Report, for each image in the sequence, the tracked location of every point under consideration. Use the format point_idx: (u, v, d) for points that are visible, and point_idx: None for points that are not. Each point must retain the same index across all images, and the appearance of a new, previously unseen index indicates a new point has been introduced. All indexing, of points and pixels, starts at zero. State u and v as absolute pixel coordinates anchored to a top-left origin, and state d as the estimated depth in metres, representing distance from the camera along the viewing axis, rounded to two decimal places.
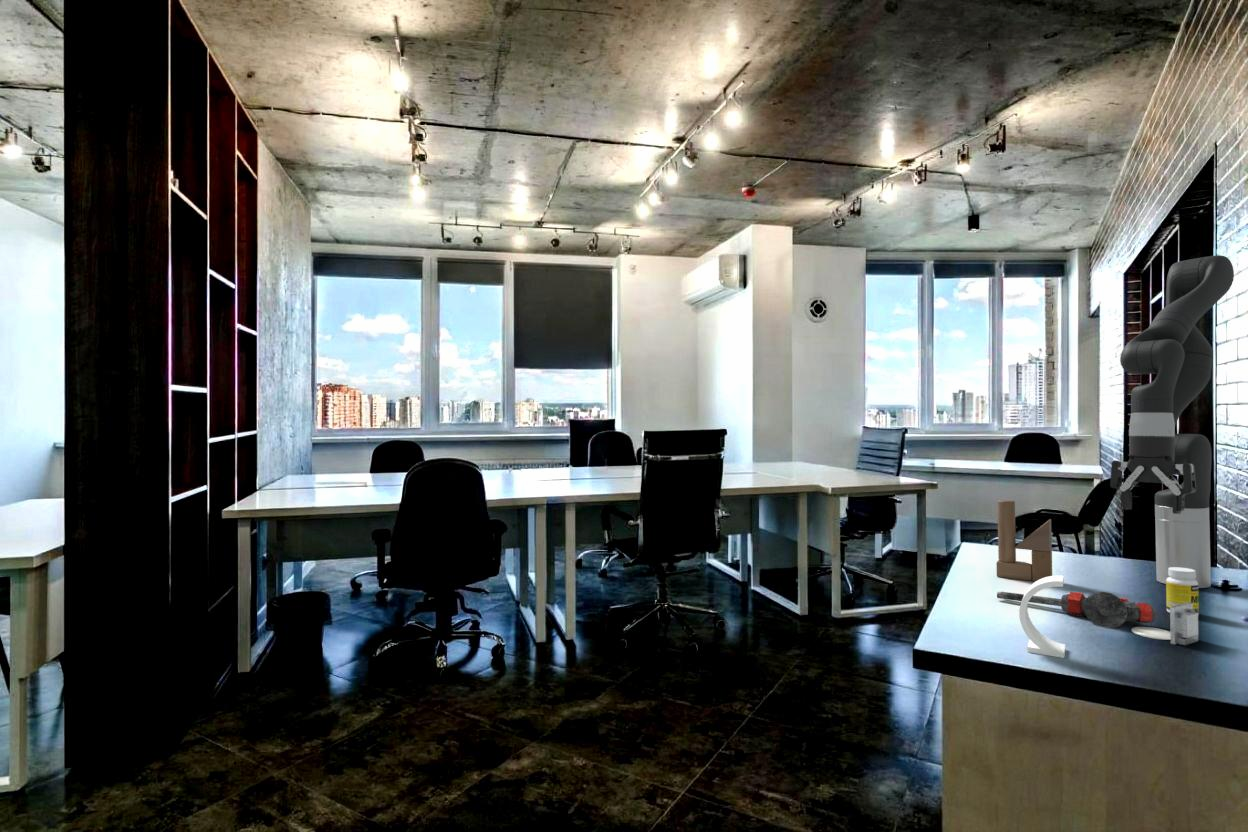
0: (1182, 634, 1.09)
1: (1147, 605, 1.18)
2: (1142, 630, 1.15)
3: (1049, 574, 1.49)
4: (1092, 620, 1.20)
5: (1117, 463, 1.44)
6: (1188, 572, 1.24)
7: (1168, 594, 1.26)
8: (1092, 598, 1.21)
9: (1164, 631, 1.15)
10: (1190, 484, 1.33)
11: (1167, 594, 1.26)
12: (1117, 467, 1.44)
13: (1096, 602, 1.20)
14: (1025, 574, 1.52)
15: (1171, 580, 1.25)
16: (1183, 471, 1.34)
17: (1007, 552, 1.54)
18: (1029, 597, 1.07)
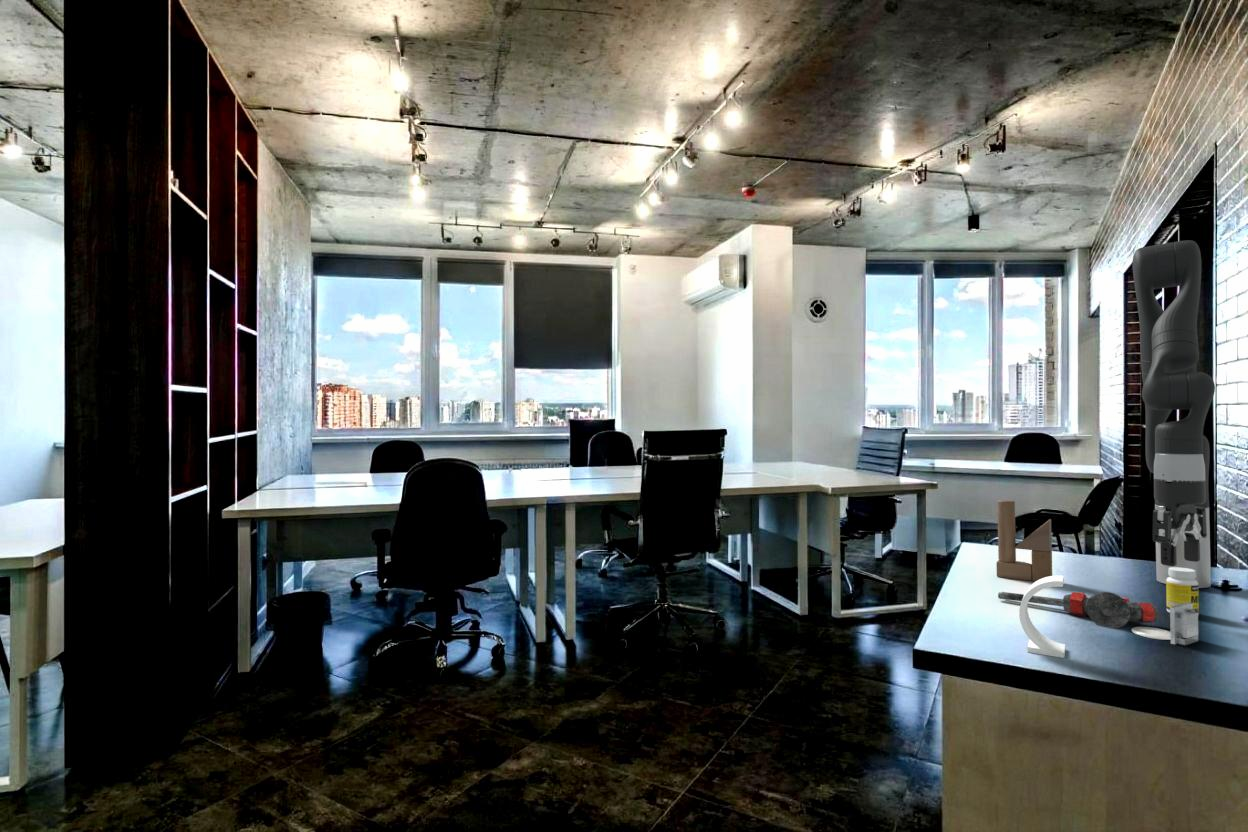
0: (1182, 634, 1.09)
1: (1149, 605, 1.18)
2: (1142, 630, 1.15)
3: (1049, 574, 1.49)
4: (1095, 620, 1.20)
5: None
6: (1188, 572, 1.24)
7: (1168, 594, 1.26)
8: (1095, 598, 1.21)
9: (1164, 631, 1.15)
10: (1205, 528, 1.28)
11: (1167, 594, 1.26)
12: (1171, 518, 1.22)
13: (1098, 603, 1.20)
14: (1025, 574, 1.52)
15: (1171, 580, 1.25)
16: (1202, 515, 1.27)
17: (1007, 552, 1.54)
18: (1029, 597, 1.07)
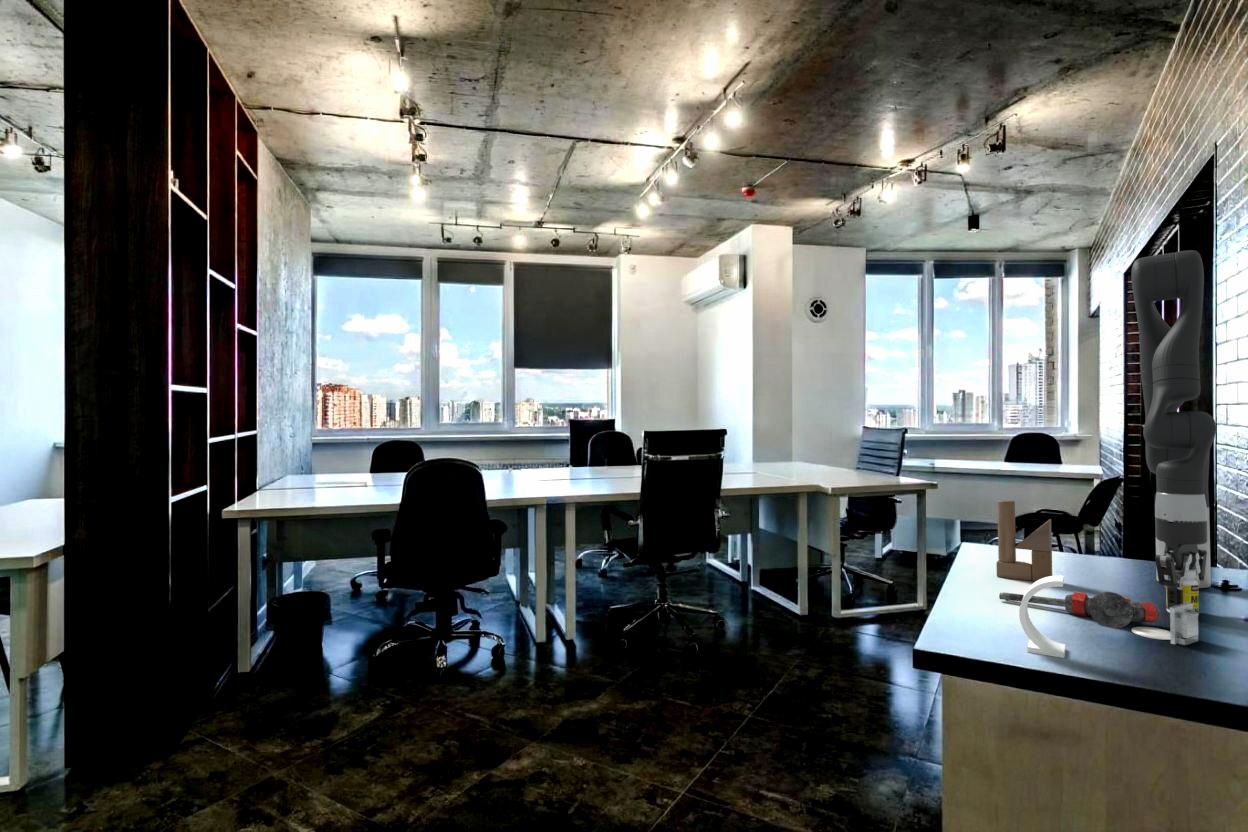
0: (1182, 634, 1.09)
1: (1151, 605, 1.18)
2: (1142, 630, 1.15)
3: (1049, 574, 1.49)
4: (1097, 620, 1.20)
5: None
6: (1188, 572, 1.24)
7: None
8: (1097, 598, 1.21)
9: (1164, 631, 1.15)
10: (1204, 572, 1.27)
11: None
12: (1174, 563, 1.22)
13: (1101, 603, 1.20)
14: (1025, 574, 1.52)
15: None
16: (1203, 558, 1.27)
17: (1007, 552, 1.54)
18: (1029, 597, 1.07)
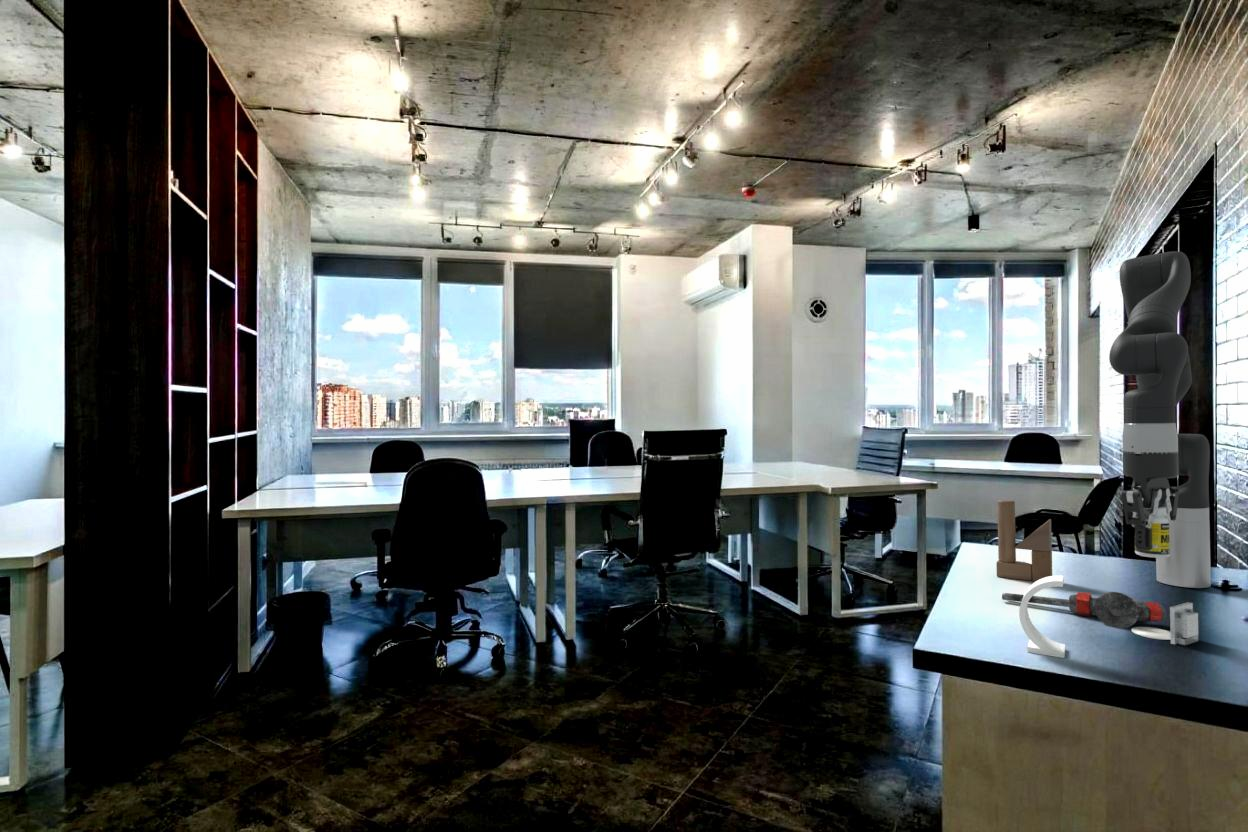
0: (1182, 634, 1.09)
1: (1156, 604, 1.19)
2: (1142, 630, 1.15)
3: (1049, 574, 1.49)
4: (1103, 620, 1.20)
5: None
6: (1158, 509, 1.13)
7: None
8: (1103, 598, 1.20)
9: (1164, 631, 1.15)
10: (1176, 511, 1.16)
11: None
12: (1141, 498, 1.11)
13: (1107, 603, 1.20)
14: (1025, 574, 1.52)
15: None
16: (1175, 495, 1.16)
17: (1007, 552, 1.54)
18: (1029, 597, 1.07)
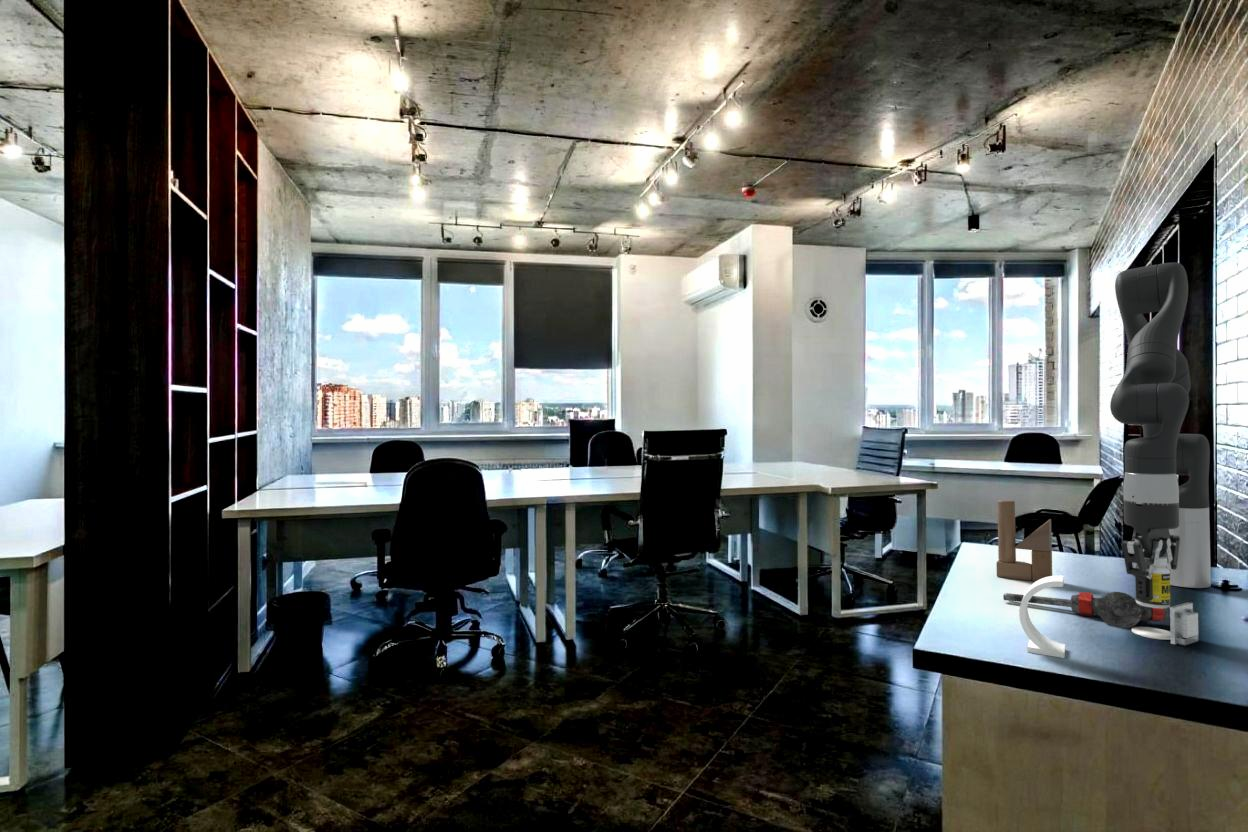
0: (1182, 634, 1.09)
1: None
2: (1142, 630, 1.15)
3: (1049, 574, 1.49)
4: (1106, 620, 1.20)
5: (1141, 545, 1.11)
6: (1159, 559, 1.12)
7: None
8: (1106, 598, 1.20)
9: (1164, 631, 1.15)
10: (1177, 560, 1.16)
11: None
12: (1142, 549, 1.11)
13: (1109, 603, 1.20)
14: (1025, 574, 1.52)
15: None
16: (1175, 544, 1.16)
17: (1007, 552, 1.54)
18: (1029, 597, 1.07)
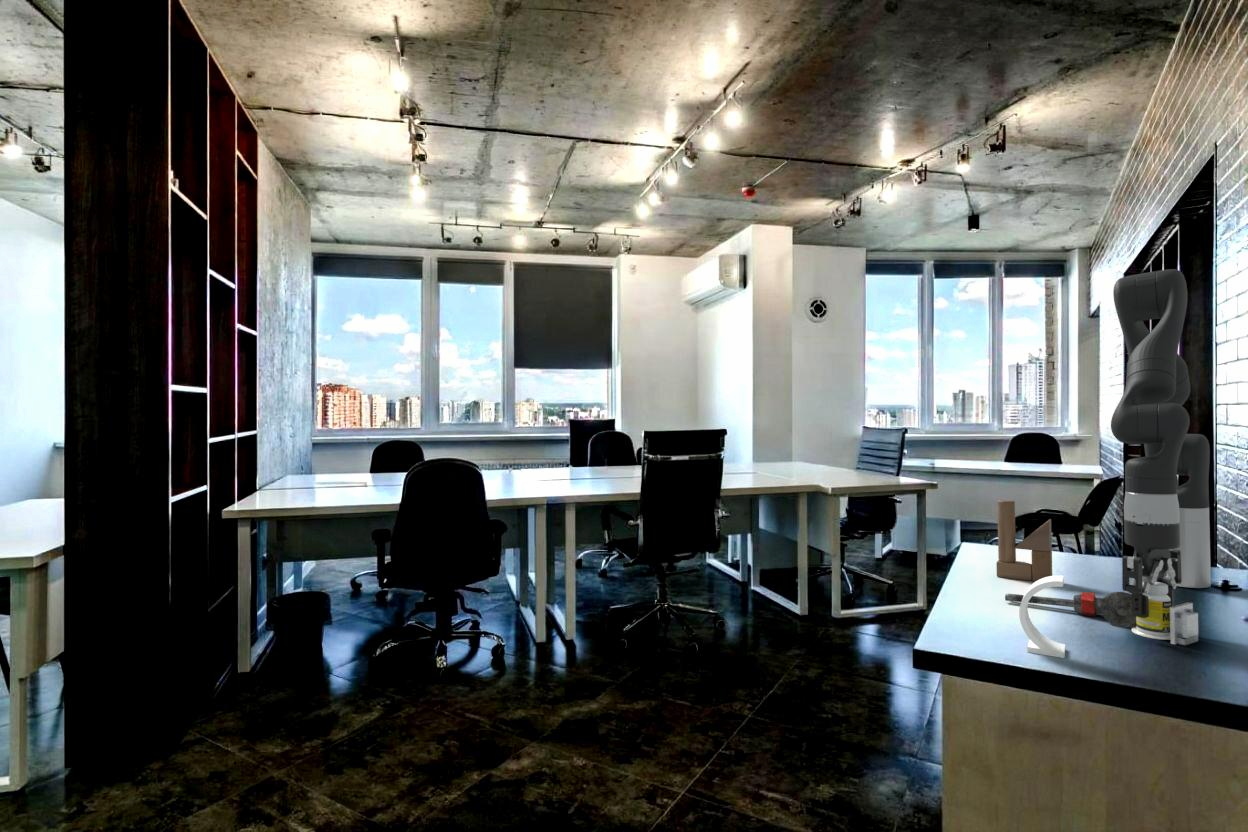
0: (1182, 634, 1.09)
1: None
2: None
3: (1049, 574, 1.49)
4: (1110, 620, 1.20)
5: None
6: (1159, 587, 1.13)
7: None
8: (1109, 598, 1.20)
9: None
10: (1180, 573, 1.16)
11: None
12: (1142, 566, 1.11)
13: (1113, 603, 1.20)
14: (1025, 574, 1.52)
15: None
16: (1177, 559, 1.16)
17: (1007, 552, 1.54)
18: (1029, 597, 1.07)
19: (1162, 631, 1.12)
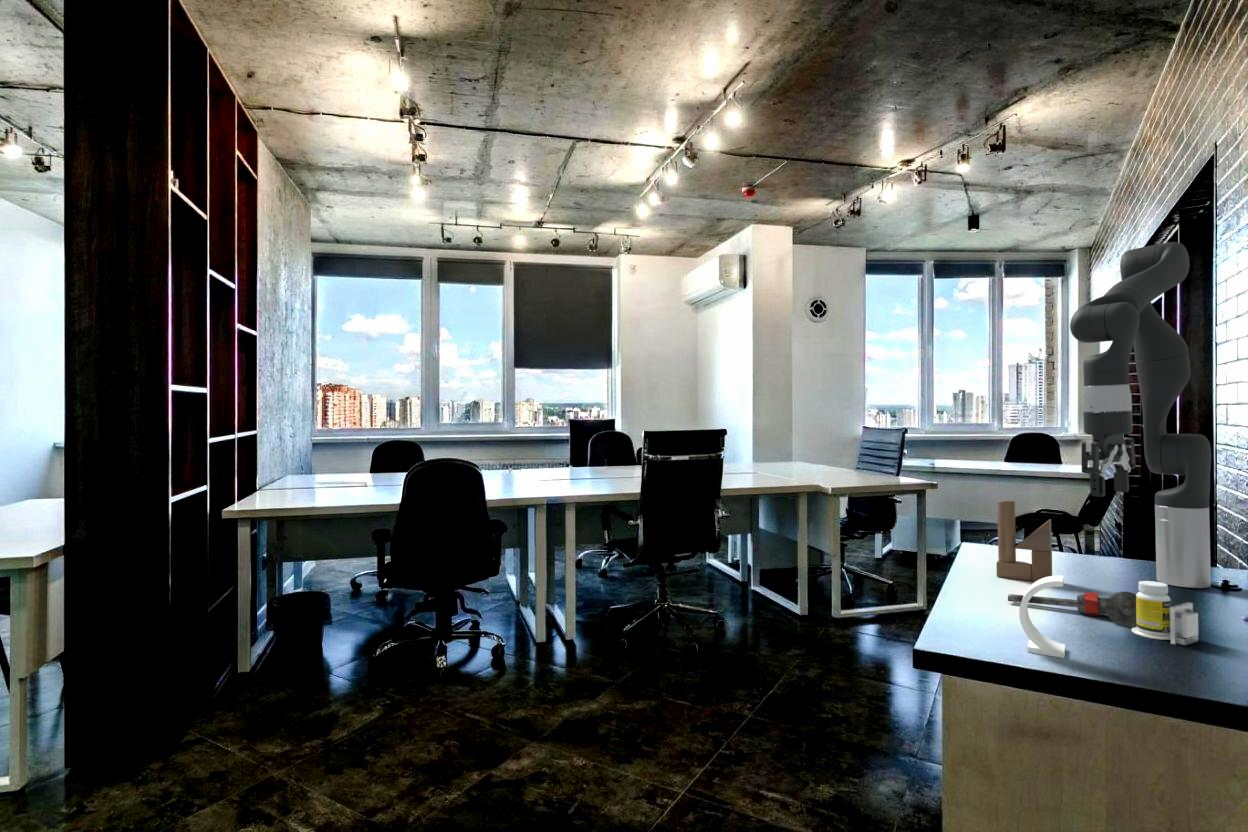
0: (1182, 634, 1.09)
1: None
2: None
3: (1049, 574, 1.49)
4: (1114, 620, 1.20)
5: None
6: (1159, 587, 1.13)
7: (1138, 611, 1.15)
8: (1114, 598, 1.20)
9: None
10: (1134, 459, 1.29)
11: (1137, 611, 1.15)
12: (1098, 449, 1.23)
13: (1118, 602, 1.20)
14: (1025, 574, 1.52)
15: (1141, 595, 1.14)
16: (1131, 446, 1.28)
17: (1007, 552, 1.54)
18: (1029, 597, 1.07)
19: (1162, 631, 1.12)
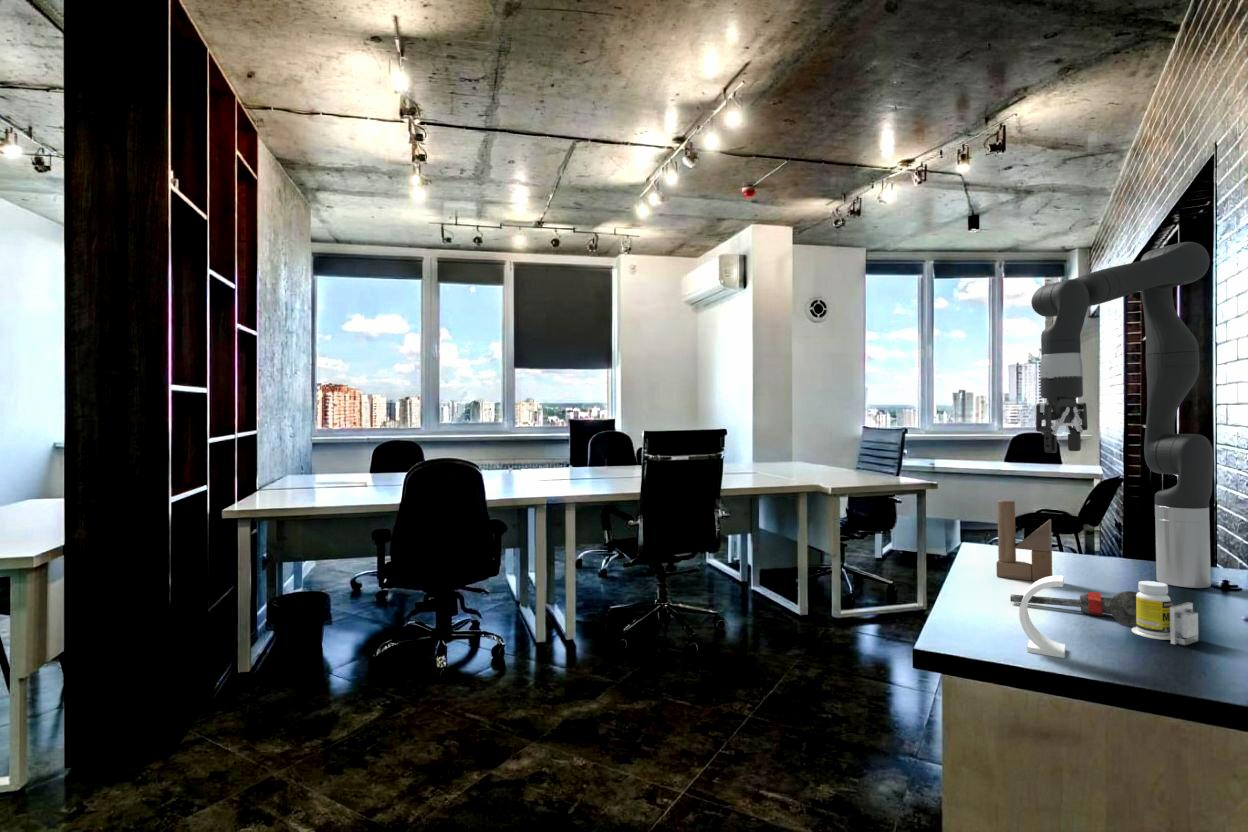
0: (1182, 634, 1.09)
1: None
2: None
3: (1049, 574, 1.49)
4: (1119, 620, 1.20)
5: (1050, 405, 1.37)
6: (1159, 587, 1.13)
7: (1138, 611, 1.15)
8: (1118, 598, 1.21)
9: None
10: (1086, 422, 1.43)
11: (1137, 611, 1.15)
12: (1051, 409, 1.37)
13: (1122, 602, 1.20)
14: (1025, 574, 1.52)
15: (1141, 595, 1.14)
16: (1083, 410, 1.42)
17: (1007, 552, 1.54)
18: (1029, 597, 1.07)
19: (1162, 631, 1.12)
